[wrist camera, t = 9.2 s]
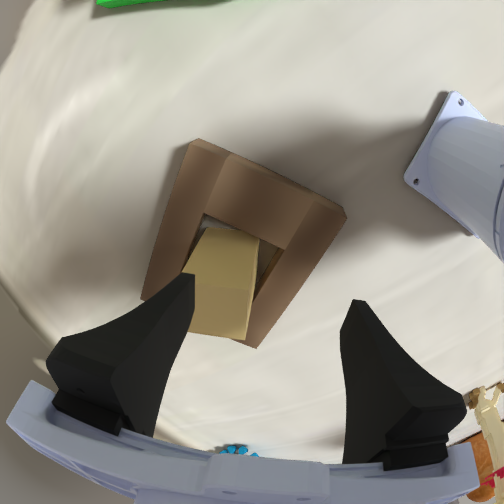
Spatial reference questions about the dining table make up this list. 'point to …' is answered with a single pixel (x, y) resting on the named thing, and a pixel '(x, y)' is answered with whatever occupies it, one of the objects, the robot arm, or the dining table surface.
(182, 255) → the brown square frame
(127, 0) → the mechanical part
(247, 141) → the dining table surface
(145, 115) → the dining table surface
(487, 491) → the bread
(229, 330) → the sand colored cuboid
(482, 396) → the cat figure
